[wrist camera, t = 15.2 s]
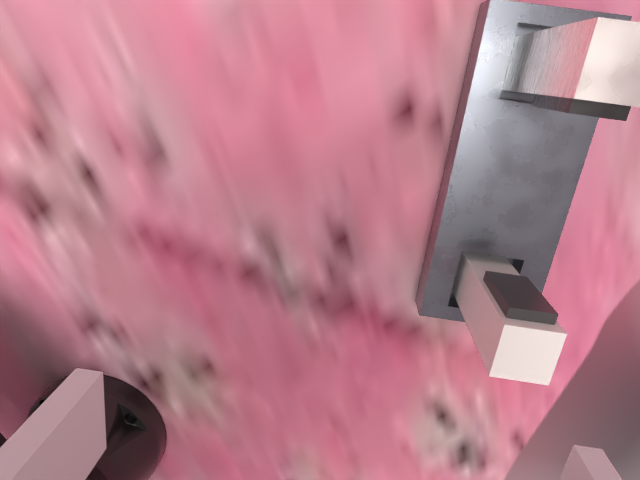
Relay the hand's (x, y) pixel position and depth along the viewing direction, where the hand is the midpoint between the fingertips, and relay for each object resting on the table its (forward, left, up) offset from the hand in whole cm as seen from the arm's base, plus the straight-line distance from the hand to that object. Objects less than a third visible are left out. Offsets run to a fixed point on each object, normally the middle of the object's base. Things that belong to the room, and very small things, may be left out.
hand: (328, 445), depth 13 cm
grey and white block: (+13, +3, -31) cm, 33 cm away
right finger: (+13, -6, -30) cm, 33 cm away
